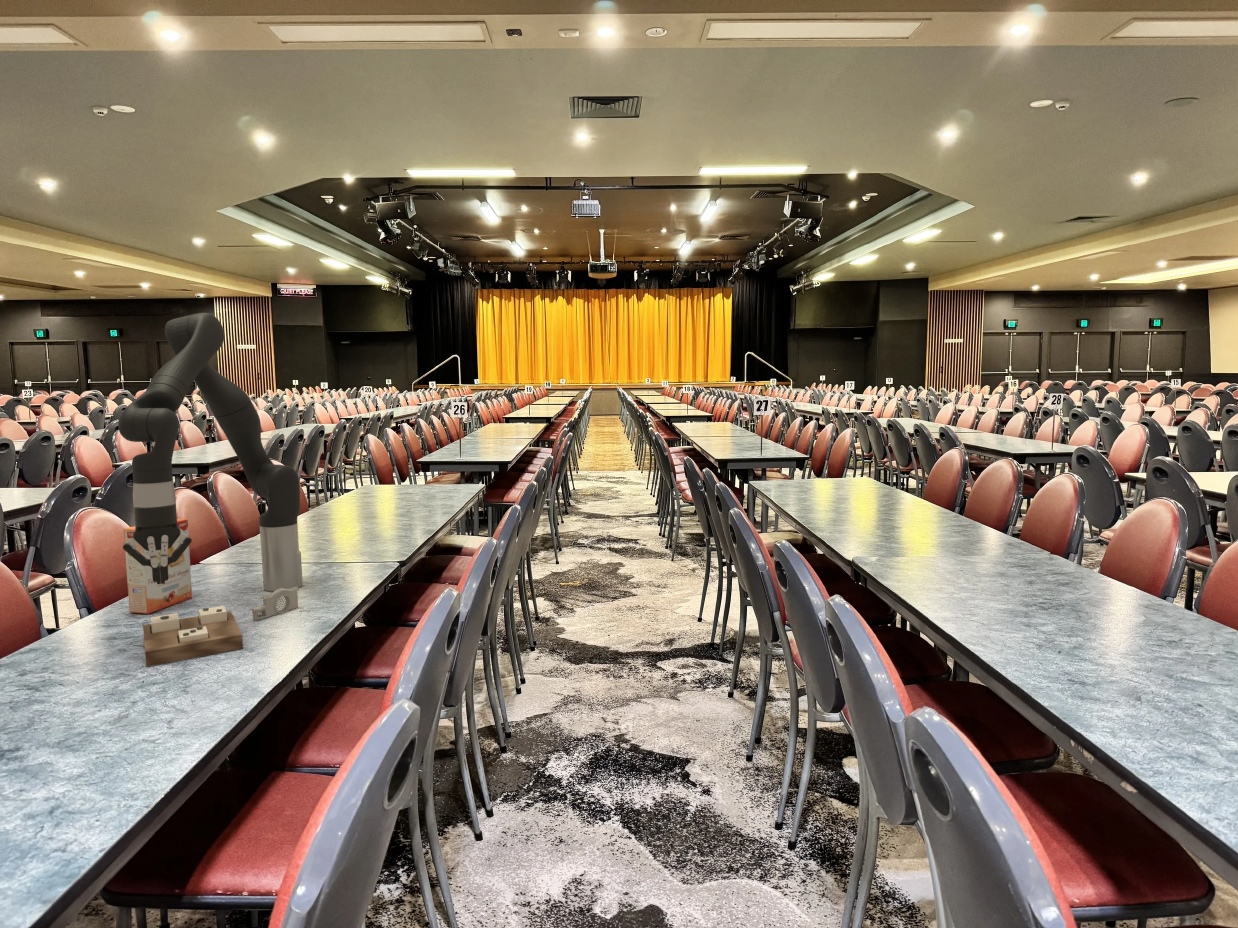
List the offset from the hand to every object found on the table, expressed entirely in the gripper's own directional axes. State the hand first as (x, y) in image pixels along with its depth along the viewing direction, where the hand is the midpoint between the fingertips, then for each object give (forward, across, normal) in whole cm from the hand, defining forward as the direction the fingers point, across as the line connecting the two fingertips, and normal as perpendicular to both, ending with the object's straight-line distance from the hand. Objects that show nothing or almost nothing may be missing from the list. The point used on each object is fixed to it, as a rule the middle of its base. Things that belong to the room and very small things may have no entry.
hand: (160, 583), depth 156 cm
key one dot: (+11, 0, 0) cm, 11 cm away
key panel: (+13, -5, +5) cm, 14 cm away
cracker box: (+13, -1, -30) cm, 32 cm away
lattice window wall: (+13, -23, -6) cm, 27 cm away
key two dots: (+11, -9, 0) cm, 15 cm away
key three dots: (+12, -5, +10) cm, 17 cm away
